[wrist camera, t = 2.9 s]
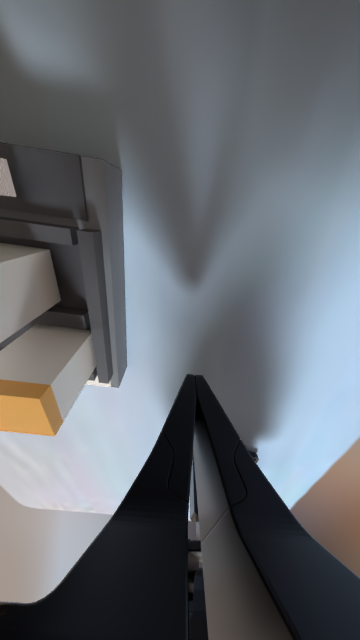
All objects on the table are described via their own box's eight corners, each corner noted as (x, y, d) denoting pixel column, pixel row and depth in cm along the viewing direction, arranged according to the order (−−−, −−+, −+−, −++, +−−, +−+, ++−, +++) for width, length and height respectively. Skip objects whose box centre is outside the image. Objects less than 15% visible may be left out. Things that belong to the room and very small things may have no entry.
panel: (121, 170, 8) (93, 153, 6) (127, 366, 14) (114, 397, 12) (-166, 126, 8) (-328, 86, 5) (-33, 347, 14) (-80, 376, 11)
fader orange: (93, 330, 10) (39, 398, 6) (97, 363, 11) (54, 436, 7) (36, 323, 10) (-52, 389, 6) (47, 357, 11) (-22, 428, 7)
